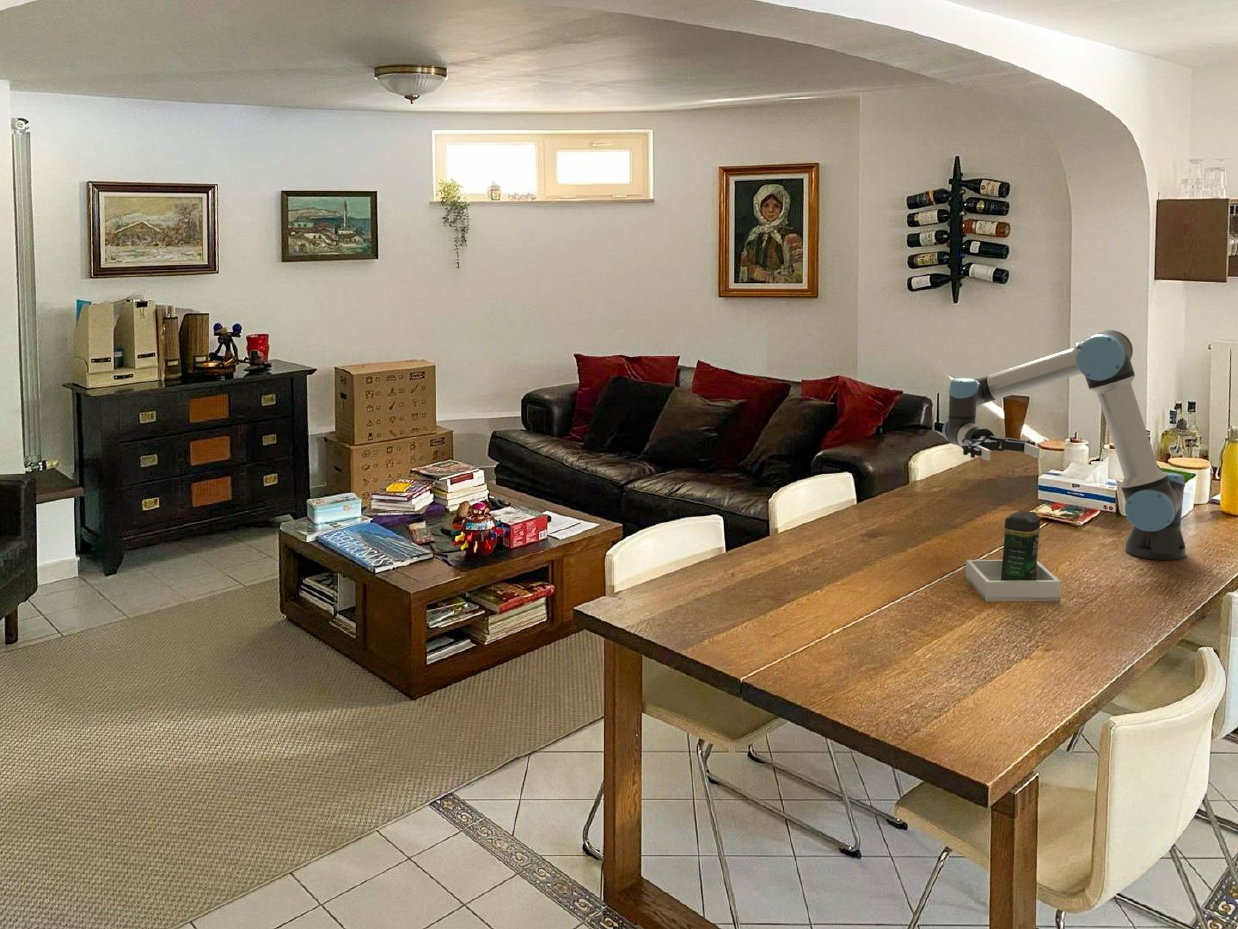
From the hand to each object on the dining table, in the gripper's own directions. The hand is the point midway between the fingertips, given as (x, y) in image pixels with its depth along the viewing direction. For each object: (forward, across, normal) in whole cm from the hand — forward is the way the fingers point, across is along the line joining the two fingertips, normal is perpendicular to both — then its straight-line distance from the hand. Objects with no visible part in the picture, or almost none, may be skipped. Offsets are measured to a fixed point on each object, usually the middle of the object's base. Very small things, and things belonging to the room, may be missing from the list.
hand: (1013, 454), depth 280 cm
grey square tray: (+14, +6, -32) cm, 35 cm away
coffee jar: (+13, +3, -31) cm, 34 cm away
